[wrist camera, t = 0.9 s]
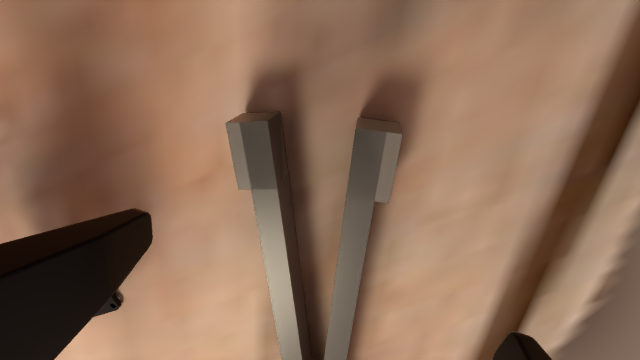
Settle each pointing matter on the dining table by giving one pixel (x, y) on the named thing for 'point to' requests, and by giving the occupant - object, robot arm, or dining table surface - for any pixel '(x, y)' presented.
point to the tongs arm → (273, 222)
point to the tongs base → (360, 221)
